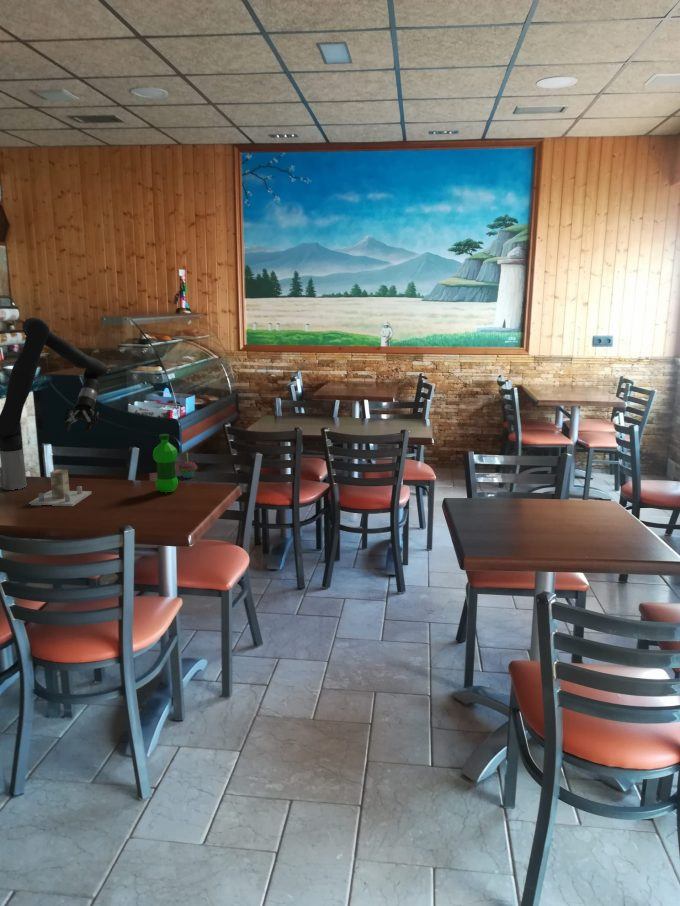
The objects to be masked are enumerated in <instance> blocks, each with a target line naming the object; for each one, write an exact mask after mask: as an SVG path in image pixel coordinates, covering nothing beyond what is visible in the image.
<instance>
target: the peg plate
mask: <svg viewBox="0 0 680 906" xmlns="http://www.w3.org/2000/svg"><path fill="white" fill-rule="evenodd" d="M69 491H70V494H69V493H67V494H65V499H53V498H52V487H51V490H49V491H47V492H45V493H44V492H39V493H38V497H37V498H34V499H33V500H31V501H30V502H28V505H29V504H31V505H30V506H41V505H52V506H53V507H74V506H75V505H77V504H78V503H80V502H81V501H82V500H84V499H86V498H87V497H89V496H90V495H92V493H93V492H92V490H90V491H89V490H88V491H87V490H86V491H85V490H83V487H82V486H81V485H77V486H76V490H69Z"/></svg>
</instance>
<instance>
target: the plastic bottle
mask: <svg viewBox="0 0 680 906" xmlns="http://www.w3.org/2000/svg"><path fill="white" fill-rule="evenodd" d="M158 436H159V437H158V438H159V441H160V443H159V444H157V446H156V447H154V448H153V451H152V458H153V460H154V461H155V462H156V480H155V484H154V485H155V487H156V489H157V490H158V491H159V492H160V493H162V492H171V493H173V492H174V491H175V490H176V489H177V488H178V486H179V479H178V477H177V476H176V460H177V459H178V450H177V447H175V446H174V445H173V444H171V442H169V440H170V434H169V433H162V434H159V435H158ZM172 491H173V492H172Z"/></svg>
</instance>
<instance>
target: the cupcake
mask: <svg viewBox="0 0 680 906" xmlns="http://www.w3.org/2000/svg"><path fill="white" fill-rule="evenodd" d="M185 454H186V461H184V462H181V463H180V464H179V465H178V471H179V472H180V473H181V475H182V478H186V479H190V478H193V477H194V475H195V471H196V470H197V469H198V465H197V464H196V463H195V462H194V461H189V453H188V452H186V453H185Z"/></svg>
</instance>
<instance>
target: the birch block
mask: <svg viewBox="0 0 680 906" xmlns="http://www.w3.org/2000/svg"><path fill="white" fill-rule="evenodd" d="M49 474H50V485H51V487H52V488H51V490H52V498H53V499H65V494H67V493H69V494H70V491H71V490H70V482H69V470H68V469H54V470H53V471H51V472H49Z"/></svg>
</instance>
